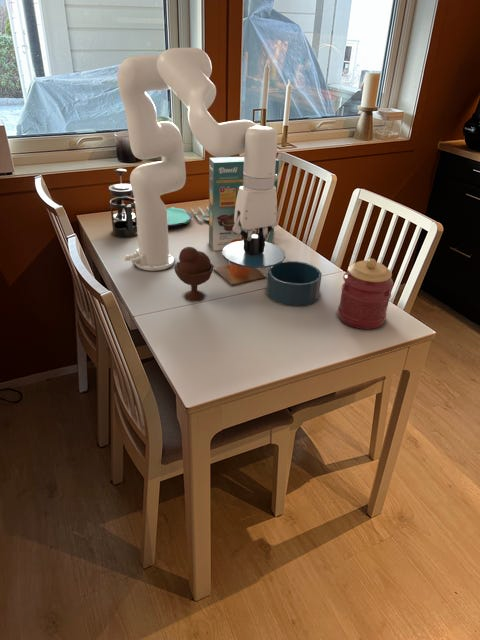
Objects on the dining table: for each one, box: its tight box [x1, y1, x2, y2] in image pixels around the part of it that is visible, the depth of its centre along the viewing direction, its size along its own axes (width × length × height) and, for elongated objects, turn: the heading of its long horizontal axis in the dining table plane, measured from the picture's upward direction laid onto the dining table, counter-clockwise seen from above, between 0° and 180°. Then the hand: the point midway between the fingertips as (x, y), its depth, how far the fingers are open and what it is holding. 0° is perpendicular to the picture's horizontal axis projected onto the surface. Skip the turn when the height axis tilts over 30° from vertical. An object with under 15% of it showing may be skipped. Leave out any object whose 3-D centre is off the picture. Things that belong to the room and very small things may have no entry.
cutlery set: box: [166, 206, 209, 227], centre depth 198 cm, size 20×30×2 cm, turn 110°
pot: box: [266, 260, 322, 307], centre depth 148 cm, size 15×16×7 cm
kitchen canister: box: [337, 258, 394, 330], centre depth 135 cm, size 13×13×18 cm
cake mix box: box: [208, 156, 280, 252], centre depth 171 cm, size 22×6×30 cm, turn 106°
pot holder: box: [213, 264, 266, 287], centre depth 159 cm, size 12×12×1 cm
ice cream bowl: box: [173, 246, 215, 302], centre depth 142 cm, size 11×11×15 cm
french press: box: [108, 168, 138, 239], centre depth 179 cm, size 12×9×23 cm
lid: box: [221, 234, 286, 269], centre depth 130 cm, size 16×16×6 cm
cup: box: [229, 239, 251, 277], centre depth 156 cm, size 7×7×10 cm
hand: (253, 251), depth 131 cm, fingers closed on lid, 2 cm apart
